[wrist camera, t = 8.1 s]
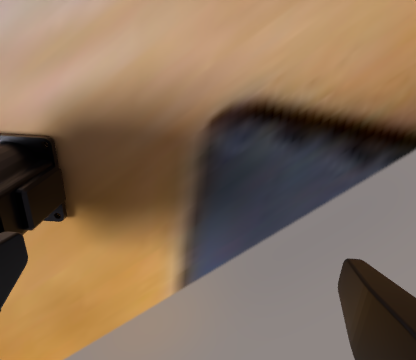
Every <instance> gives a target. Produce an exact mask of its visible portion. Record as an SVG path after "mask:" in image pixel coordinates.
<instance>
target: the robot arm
mask: <svg viewBox="0 0 416 360" xmlns="http://www.w3.org/2000/svg"><path fill="white" fill-rule="evenodd" d="M44 142H46V143H47V144H48V147H47V146H45V144H44ZM57 213H59V214H60V215H61V216H59V215H58V214H57ZM66 216H67V213H66V207H65V192H64V186H63V180H62V174H61V169H60V168H59V165H58V160H57V154H56V148H55V143H54V141H53V140H52V139H51V138H50V137H46V136H29V135H12V134H0V312H1V307H2V306H3V304H4V303H5V301H6V299H7V297H8V296H9V294H10V292H11V290H12V289H13V287H14V285H15V283H16V282H17V280H18V278H19V276H20V275H21V273H22V271H23V270H24V268H25V266H26V264H27V261H28V254H27V250H26V246H25V242H24V238H23V234H24V233H25V232H27V231H28V230H33V229H34V228H35V227H37V226H38V225H39V224H40V223H41V222H42V221H56V222H60V221H63V220H64V219H65V218H66ZM338 292H339V297H340V301H341V306H342V310H343V315H344V319H345V324H346V329H347V333H348V338H349V342H350V346H351V349H352V352H353V355H354V358H355V360H416V298H415V297H414V296H412V295H411V294H409V293H408V292H407V291H405V290H404V289H402V288H401V287H400V286H398V285H397V284H395V283H394V282H392V281H391V280H390V279H388V278H387V277H385V276H384V275H383V274H381V273H380V272H378V271H377V270H376V269H374V268H373V267H371V266H370V265H369V264H367V263H366V262H364V261H362V260H360V259H346V260H345V261H344V263H343V266H342V270H341V274H340V278H339V282H338Z"/></svg>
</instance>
